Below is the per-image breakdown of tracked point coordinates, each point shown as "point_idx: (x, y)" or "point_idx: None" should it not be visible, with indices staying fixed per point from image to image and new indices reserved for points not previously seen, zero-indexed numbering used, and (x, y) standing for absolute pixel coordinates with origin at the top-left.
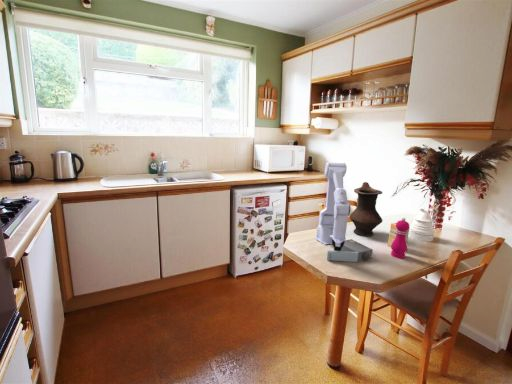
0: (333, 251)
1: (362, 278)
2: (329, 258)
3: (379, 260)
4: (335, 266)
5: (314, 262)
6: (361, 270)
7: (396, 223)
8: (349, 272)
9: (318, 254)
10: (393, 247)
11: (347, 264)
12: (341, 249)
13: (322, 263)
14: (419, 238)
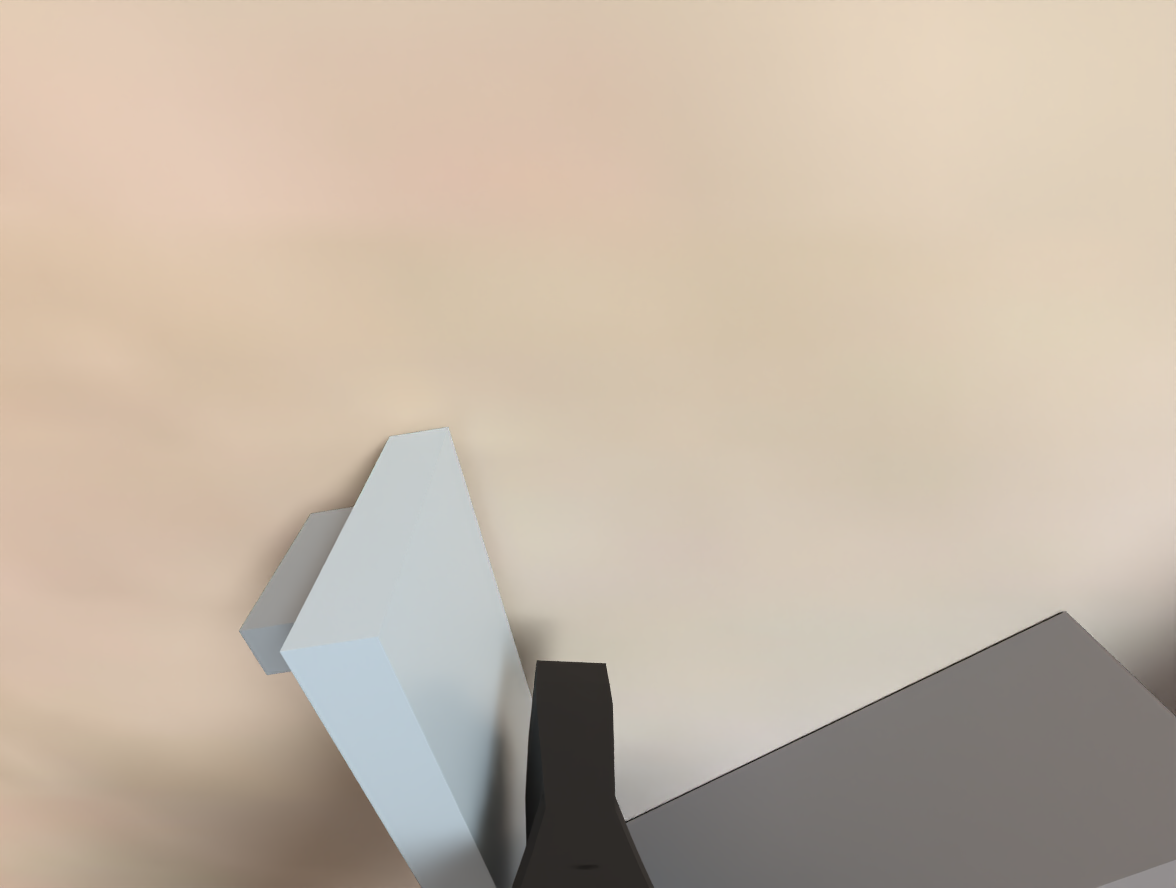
0: (369, 793)
1: (4, 884)
2: (304, 537)
3: None
4: (168, 594)
5: (9, 13)
6: (281, 880)
7: None
8: (76, 774)
9: (763, 181)
10: None
11: None
12: (957, 757)
13: (128, 308)
14: None
